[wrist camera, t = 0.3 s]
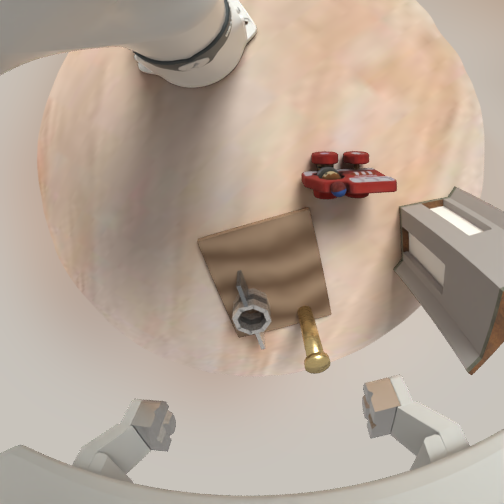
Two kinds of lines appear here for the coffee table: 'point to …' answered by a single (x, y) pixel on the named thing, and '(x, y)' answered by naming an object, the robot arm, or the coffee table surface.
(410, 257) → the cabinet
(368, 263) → the coffee table surface
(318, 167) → the toy fire truck
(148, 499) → the robot arm
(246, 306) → the hinge
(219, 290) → the walnut board
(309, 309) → the hinge pin
